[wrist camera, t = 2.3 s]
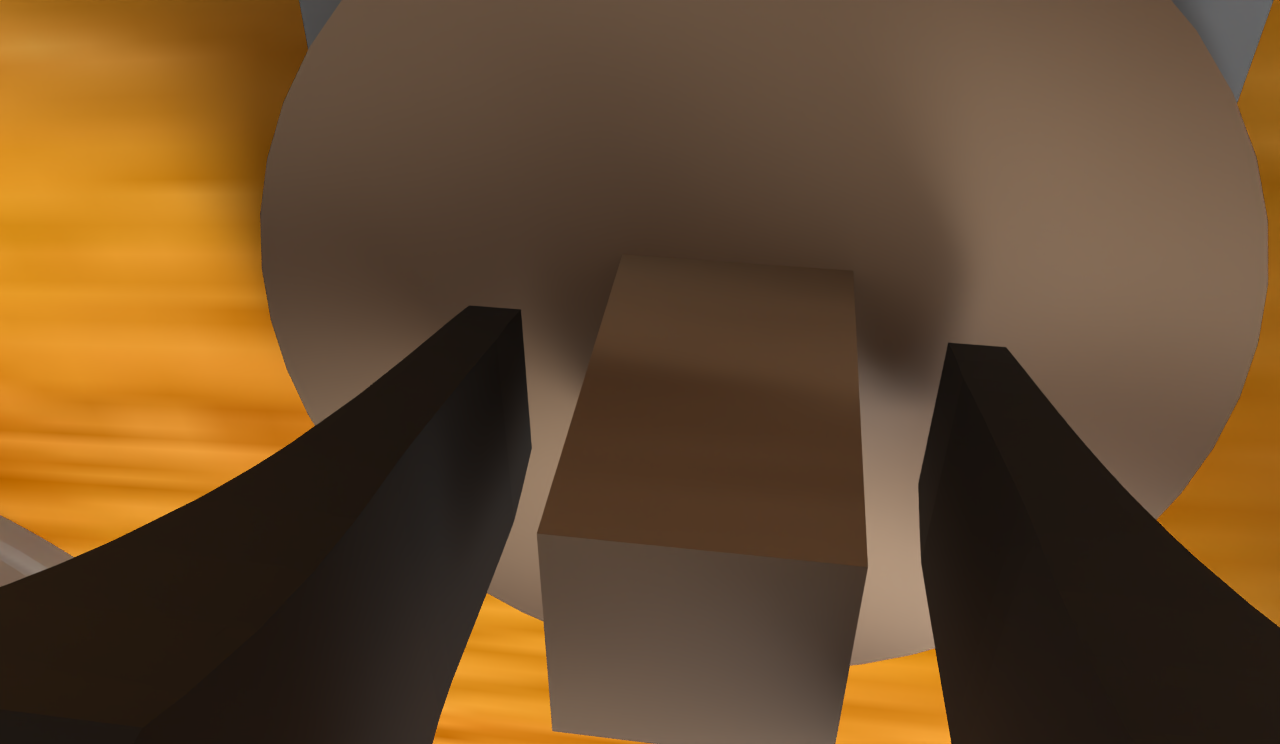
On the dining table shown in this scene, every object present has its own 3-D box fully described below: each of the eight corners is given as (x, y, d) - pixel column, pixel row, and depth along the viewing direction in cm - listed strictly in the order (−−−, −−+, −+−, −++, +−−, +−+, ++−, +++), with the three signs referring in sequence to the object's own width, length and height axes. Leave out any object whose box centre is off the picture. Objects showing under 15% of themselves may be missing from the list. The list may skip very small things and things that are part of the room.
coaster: (1045, 597, 16) (1052, 627, 16) (415, 532, 17) (403, 559, 17) (1281, -103, 10) (1305, -89, 10) (299, -134, 11) (276, -122, 11)
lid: (1093, 666, 16) (1192, 1049, 12) (363, 587, 17) (215, 906, 13) (1435, -186, 9) (1975, -6, 5) (184, -212, 10) (-256, -90, 6)
